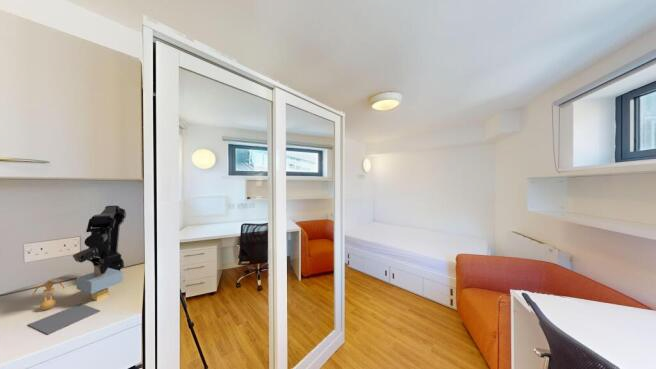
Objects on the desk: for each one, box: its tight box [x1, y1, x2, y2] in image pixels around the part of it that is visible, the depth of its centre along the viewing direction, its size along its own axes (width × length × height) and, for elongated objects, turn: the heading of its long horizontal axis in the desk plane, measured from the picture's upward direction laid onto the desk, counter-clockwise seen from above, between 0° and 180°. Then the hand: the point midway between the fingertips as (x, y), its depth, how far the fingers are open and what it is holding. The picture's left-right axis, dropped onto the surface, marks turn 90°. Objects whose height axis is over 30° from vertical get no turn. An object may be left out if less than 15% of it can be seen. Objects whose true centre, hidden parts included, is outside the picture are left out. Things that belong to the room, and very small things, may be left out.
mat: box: [27, 303, 101, 336], centre depth 82 cm, size 14×14×1 cm
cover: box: [76, 265, 124, 295], centre depth 96 cm, size 11×11×10 cm
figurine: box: [31, 280, 65, 311], centre depth 87 cm, size 8×6×12 cm
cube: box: [91, 287, 109, 302], centre depth 96 cm, size 4×4×4 cm
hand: (100, 272), depth 96 cm, fingers closed on cover, 3 cm apart
